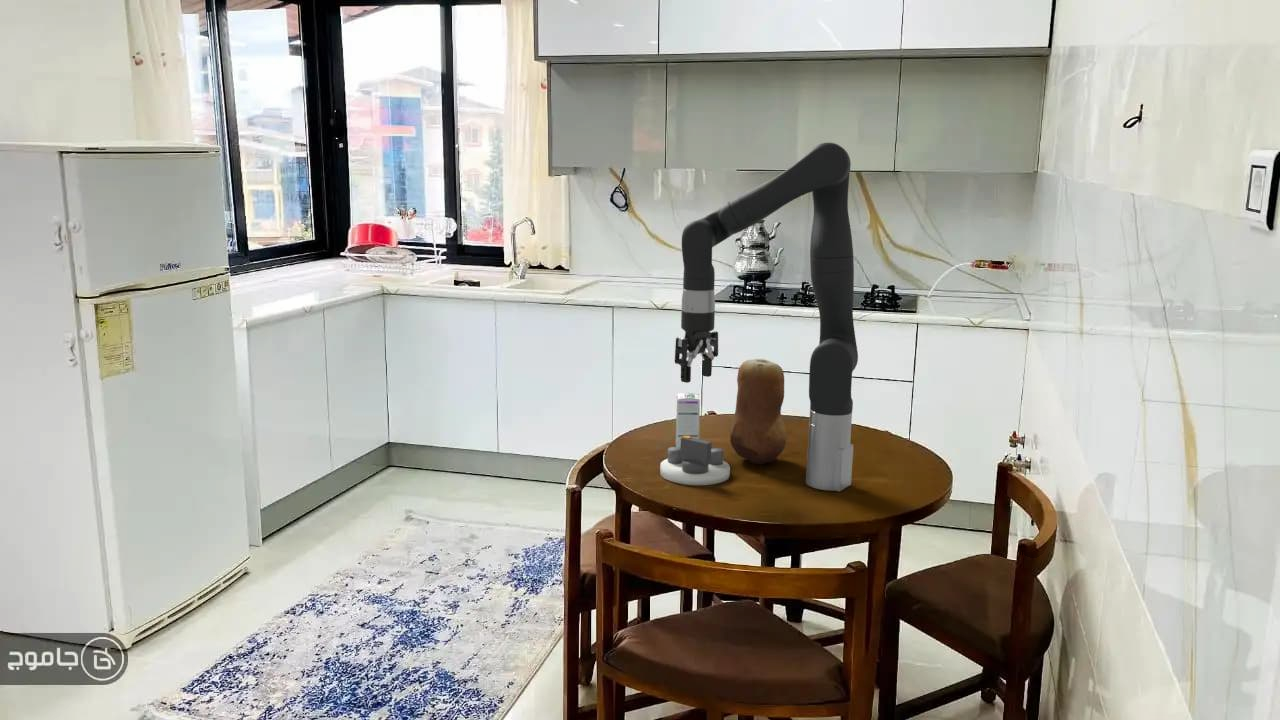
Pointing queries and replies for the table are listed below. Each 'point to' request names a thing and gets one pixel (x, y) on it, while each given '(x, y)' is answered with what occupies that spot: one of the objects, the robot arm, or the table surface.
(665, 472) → the plate
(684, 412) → the syrup box
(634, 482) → the table surface
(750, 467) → the table surface
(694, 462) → the wing knob
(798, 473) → the table surface
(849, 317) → the robot arm
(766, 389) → the butternut squash
